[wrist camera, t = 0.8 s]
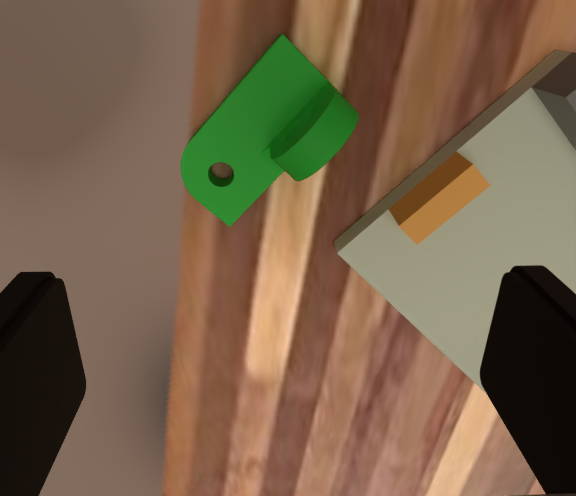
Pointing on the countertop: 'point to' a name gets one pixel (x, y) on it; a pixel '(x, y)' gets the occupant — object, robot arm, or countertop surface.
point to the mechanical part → (267, 132)
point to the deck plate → (478, 215)
